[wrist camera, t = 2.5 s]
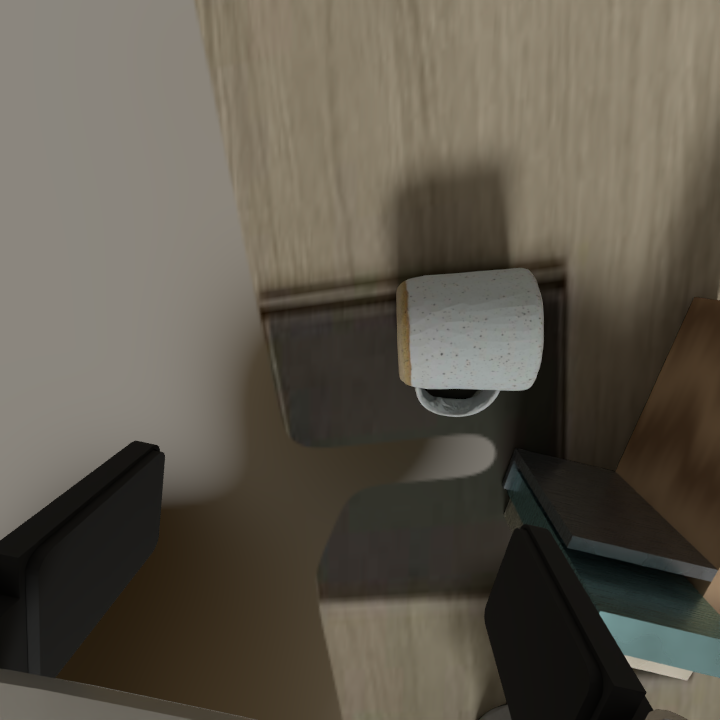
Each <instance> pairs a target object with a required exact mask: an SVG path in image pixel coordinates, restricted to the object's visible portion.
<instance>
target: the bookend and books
mask: <svg viewBox="0 0 720 720" xmlns="http://www.w3.org/2000/svg"><path fill="white" fill-rule="evenodd" d="M502 486H503V488H504V489H508V491H507V493H508V495H509V497H510V499H509V502H508V505H507V507H506V510H505V513H504V516H505V518H506V521H507V523H508V525H509V527H510V530H511V532H512V533H513V531H514V530H515V528H521V526H522V525H523V524H528V525H533V526H538V527H542V528H546V529H548V530H549V531H550V533H551V534H552V536H553V538H554V539H555V541H556V543H557V544H558V546H559V548H560V549H561V551H562V553H563V554H564V556H565V558H566V559H567V561H568V563H569V564H570V566H571V568H572V569H573V571H574V573H575V574H576V576H577V578H578V579H579V581H580V583H581V584H582V586H583V588H584V589H585V591H586V593H587V594H588V596H589V598H590V599H591V601H592V603H593V604H594V606H595V608H596V609H597V611H598V613H599V614H600V616H601V618H602V619H603V621H604V623H605V624H606V626H607V628H608V629H609V631H610V633H611V634H612V636H613V638H614V639H615V641H616V643H617V644H618V646H619V648H620V649H621V651H622V653H623V654H624V656H625V658H626V659H627V661H628V663H629V664H630V666H631V667H633V668H637V669H641V670H645V671H649V672H654V673H658V674H662V675H666V676H670V677H675V678H679V679H683V680H688V678H689V677H690V675H691V674H692V672H698V673H702V674H706V675H710V676H714V677H719V678H720V615H719V614H718V613H717V611H716V610H715V609H714V608H713V607H712V606H711V605H710V604H709V603H708V602H707V601H706V599H705V598H704V597H703V596H702V595H701V594H700V593H699V592H698V591H697V590H696V589H695V587H694V586H693V585H692V584H691V583H690V582H689V581H688V580H687V579H686V578H685V577H684V575H685V576H689V577H693V578H697V579H702V580H706V581H710V582H712V580H713V578H714V577H715V575H716V573H717V571H718V569H717V568H715V567H714V566H713V565H712V564H711V563H710V562H709V561H708V560H707V559H706V558H705V557H704V556H703V555H702V554H701V553H700V552H699V551H698V550H697V549H696V548H695V547H694V546H693V545H692V544H691V543H689V542H688V541H687V540H686V539H685V538H684V537H683V536H682V535H681V534H680V533H679V532H678V531H677V530H676V529H675V528H674V527H673V526H672V525H671V524H670V523H669V522H668V521H667V520H666V519H664V518H663V517H662V516H661V515H660V514H659V513H658V512H657V511H656V510H655V509H654V508H653V507H652V506H651V505H650V504H649V503H648V502H647V501H646V500H645V499H644V498H643V497H642V496H641V495H640V494H638V493H637V492H636V491H635V490H634V489H633V488H632V487H631V486H630V485H629V484H628V483H627V482H626V481H625V480H624V479H623V478H622V477H621V476H620V475H619V474H618V473H617V472H616V471H612V470H608V469H603V468H599V467H595V466H591V465H586V464H582V463H578V462H574V461H569V460H565V459H561V458H556V457H552V456H548V455H544V454H539V453H535V452H531V451H527V450H522V449H518V448H515V450H514V453H513V456H512V459H511V461H510V464H509V467H508V469H507V472H506V475H505V478H504V480H503V483H502Z"/></svg>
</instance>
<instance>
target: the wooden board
mask: <svg viewBox="0 0 720 720" xmlns="http://www.w3.org/2000/svg"><path fill="white" fill-rule="evenodd" d="M616 472H617V473H618V474H619V475H620V476H621V477H622V478H623V479H624V480H625V481H626V482H627V483H628V484H629V485H630V486H631V487H632V488H633V489H634V490H635V491H636V492H637V493H638V494H640V495H641V496H642V497H643V498H644V499H645V500H646V501H647V502H648V503H649V504H650V505H651V506H652V507H653V508H654V509H655V510H656V511H657V512H658V513H659V514H660V515H661V516H662V517H663V518H664V519H666V520H667V521H668V522H669V523H670V524H671V525H672V526H673V527H674V528H675V529H676V530H677V531H678V532H679V533H680V534H681V535H682V536H683V537H684V538H685V539H686V540H687V541H688V542H689V543H691V544H692V545H693V546H694V547H695V548H696V549H697V550H698V551H699V552H700V553H701V554H702V555H703V556H704V557H705V558H706V559H707V560H708V561H709V562H710V563H711V564H712V565H713V566H714V567H715V568H717V569H718V571H717V573H716V575H715V577H714V578H713V580H712V582H710V581H706V580H702V579H697V578H693V577H689V576H685V575H684V577H685V578H686V579H687V580H688V581H689V582H690V583H691V584H692V585H693V586H694V587H695V589H696V590H697V591H698V592H699V593H700V594H701V595H702V596H703V597H704V598H705V599H706V601H707V602H708V603H709V604H710V605H711V606H712V607H713V608H714V609H715V610H716V611H717V613H718V614H719V615H720V300H713V299H706V298H699V297H694V299H693V301H692V303H691V305H690V308H689V310H688V312H687V314H686V317H685V319H684V321H683V323H682V325H681V328H680V330H679V332H678V334H677V336H676V339H675V341H674V343H673V345H672V347H671V350H670V352H669V354H668V356H667V358H666V361H665V363H664V365H663V367H662V370H661V372H660V374H659V376H658V378H657V381H656V383H655V385H654V387H653V389H652V392H651V394H650V396H649V398H648V400H647V403H646V405H645V407H644V409H643V411H642V414H641V416H640V418H639V420H638V422H637V425H636V427H635V429H634V431H633V434H632V436H631V438H630V440H629V442H628V445H627V447H626V449H625V451H624V453H623V456H622V458H621V460H620V462H619V464H618V467H617V469H616Z"/></svg>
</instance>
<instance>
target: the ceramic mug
mask: <svg viewBox="0 0 720 720" xmlns="http://www.w3.org/2000/svg"><path fill="white" fill-rule="evenodd" d="M396 303H397V345H398V362H399V376H400V379H401V380H402V381H403V382H404V383H405V384H407V385H409V386H414V387H415V391H416V394H417V397H418V399H419V401H420V403H421V404H422V405H423V406H424V407H425V408H427V409H428V410H430V411H432V412H433V413H436V414H440V415H444V416H453V417H461V416H468V415H472V414H475V413H478V412H480V411H482V410H483V409H485V408H486V407H488V406H489V405H490V404H491V403H492V402H493V401H494V400H495V398H496V397H497V395H498V394H499V392H500V390H508V391H520V390H526V389H529V388H530V387H531V386H532V385H533V383H534V381H535V379H536V377H537V374H538V371H539V368H540V364H541V360H542V352H543V344H544V313H543V302H542V297H541V293H540V290H539V288H538V283H537V281H536V278H535V277H534V276H533V274H532V273H531V272H530V271H529V270H528V269H524V268H513V269H502V270H488V271H476V272H465V273H453V274H439V275H424V276H421V277H416V278H411V279H408V280H406V281H403V282H402V283H401V284H400V285H399V286H398V288H397V292H396ZM424 388H425V389H478V390H483V391H482V392H481V393H479V394H478V395H476V396H474V397H472V398H467V399H449V398H442V397H433V396H432V395H430V394H429V393H428V392H427V391H426V390H425V389H424Z"/></svg>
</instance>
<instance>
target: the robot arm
mask: <svg viewBox="0 0 720 720" xmlns="http://www.w3.org/2000/svg"><path fill="white" fill-rule="evenodd" d="M164 462H165V455H164V453H163V452H160V449H159V446H157V445H154V444H149V443H144V442H139V441H134V442H132V443H130V444H129V445H128V446H126V447H125V448H124V449H122V450H121V451H120V452H118V453H117V454H116V455H114V456H113V457H112V458H110V459H109V460H108V461H106V462H105V463H104V464H102V465H101V466H100V467H98V468H97V469H96V470H94V471H93V472H91V473H90V474H89V475H87V476H86V477H85V478H83V479H82V480H81V481H79V482H78V483H77V484H76V485H74V486H73V487H71V488H70V489H69V490H67V491H66V492H65V493H63V494H62V495H61V496H59V497H58V498H57V499H55V500H54V501H53V502H51V503H50V504H49V505H47V506H46V507H45V508H43V509H42V510H41V511H40V512H38V513H37V514H35V515H34V516H32V517H31V518H30V519H28V520H27V521H26V522H25V523H23V524H22V525H20V526H19V527H18V528H17V529H15V530H14V531H12V532H11V533H10V534H8V535H7V536H6V537H4V538H3V539H2V540H0V720H255V719H250V718H245V717H241V716H236V715H231V714H227V713H222V712H218V711H213V710H208V709H203V708H199V707H193V706H189V705H184V704H179V703H174V702H169V701H165V700H160V699H155V698H151V697H146V696H141V695H136V694H131V693H126V692H122V691H117V690H112V689H107V688H103V687H98V686H93V685H88V684H82V683H77V682H71V681H66V680H61V679H56V678H55V677H56V676H57V675H58V673H59V672H60V671H61V669H62V668H63V667H64V665H65V664H66V663H67V662H68V660H69V659H70V658H71V657H72V655H73V654H74V653H75V651H76V650H77V648H79V646H80V645H81V644H82V642H83V641H84V640H85V639H86V637H87V636H88V635H89V633H90V632H91V631H92V629H93V628H94V627H95V626H96V624H97V623H98V622H99V621H100V619H101V618H102V617H103V615H104V614H105V613H106V612H107V610H108V609H109V608H110V606H111V605H112V604H113V602H114V601H115V600H116V598H117V597H118V596H119V595H120V593H121V592H122V591H123V589H124V588H125V587H126V586H127V584H128V583H129V582H130V581H131V579H132V578H133V577H134V575H135V574H136V573H137V572H138V570H139V569H140V568H141V566H142V565H143V564H144V563H145V561H146V560H147V559H148V557H149V556H150V555H151V554H152V552H153V550H154V549H155V547H156V544H157V541H158V537H159V525H160V513H161V500H162V488H163V475H164V474H163V473H164ZM484 618H485V625H486V629H487V632H488V636H489V639H490V643H491V647H492V650H493V654H494V658H495V661H496V665H497V669H498V672H499V676H500V679H501V683H502V687H503V690H504V694H505V698H506V701H507V705H508V709H509V712H510V716H511V720H687V719H686V718H684V717H683V716H680V715H678V714H676V713H673V712H671V711H668V710H660V709H656V710H653V709H652V707H651V705H650V704H649V702H648V700H647V699H646V697H645V694H646V691H645V689H644V688H643V686H642V684H641V683H640V681H639V679H638V678H637V676H636V674H635V673H634V671H633V669H632V668H631V666H630V664H629V663H628V661H627V659H626V658H625V656H624V654H623V653H622V651H621V649H620V648H619V646H618V644H617V643H616V641H615V639H614V638H613V636H612V634H611V633H610V631H609V629H608V628H607V626H606V624H605V623H604V621H603V619H602V618H601V616H600V614H599V613H598V611H597V609H596V608H595V606H594V604H593V603H592V601H591V599H590V598H589V596H588V594H587V593H586V591H585V589H584V588H583V586H582V584H581V583H580V581H579V579H578V578H577V576H576V574H575V573H574V571H573V569H572V568H571V566H570V564H569V563H568V561H567V559H566V558H565V556H564V554H563V553H562V551H561V549H560V548H559V546H558V544H557V543H556V541H555V539H554V538H553V536H552V534H551V533H550V531H549V530H548V529H546V528H542V527H538V526H533V525H528V524H523V525H522V526H521V528H515V530H514V531H513V533H512V536H511V539H510V541H509V544H508V547H507V550H506V552H505V555H504V558H503V561H502V563H501V566H500V569H499V572H498V574H497V577H496V580H495V583H494V585H493V588H492V591H491V593H490V596H489V599H488V602H487V604H486V608H485V616H484Z"/></svg>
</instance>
